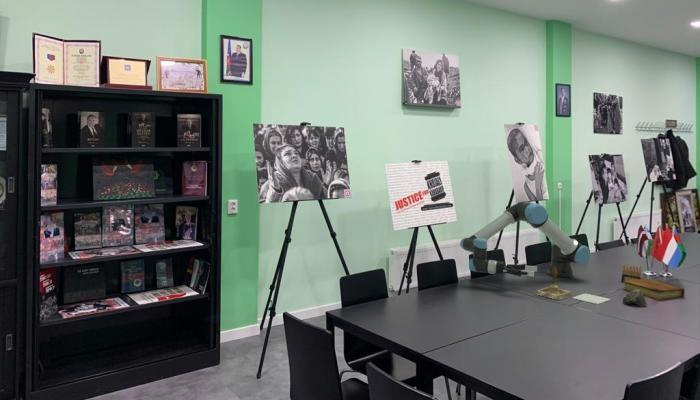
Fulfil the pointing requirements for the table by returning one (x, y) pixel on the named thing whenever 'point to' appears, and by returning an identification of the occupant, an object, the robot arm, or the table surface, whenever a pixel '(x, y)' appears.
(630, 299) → the fossil
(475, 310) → the table surface
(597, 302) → the mat
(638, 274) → the ammunition clip
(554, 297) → the bell cradle
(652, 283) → the diary
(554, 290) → the hand bell
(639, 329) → the table surface
